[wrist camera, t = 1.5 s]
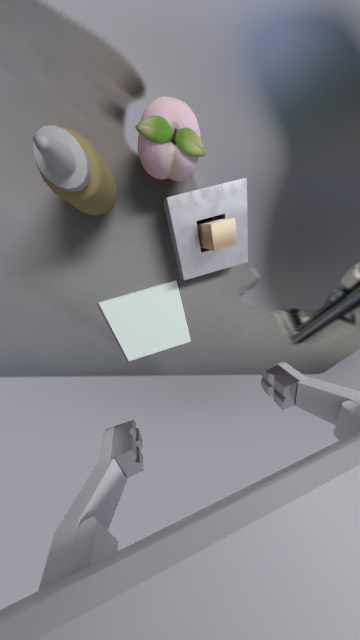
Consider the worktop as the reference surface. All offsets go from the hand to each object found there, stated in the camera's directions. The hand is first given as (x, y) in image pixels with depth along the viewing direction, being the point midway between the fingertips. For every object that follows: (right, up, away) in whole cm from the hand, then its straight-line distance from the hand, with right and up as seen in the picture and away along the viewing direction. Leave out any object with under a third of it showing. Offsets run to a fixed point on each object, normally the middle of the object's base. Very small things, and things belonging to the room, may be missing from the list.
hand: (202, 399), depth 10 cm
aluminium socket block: (+4, +23, +25) cm, 35 cm away
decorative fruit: (-4, +33, +19) cm, 38 cm away
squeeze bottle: (-16, +27, +19) cm, 36 cm away
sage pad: (-9, +4, +33) cm, 34 cm away
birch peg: (+4, +23, +25) cm, 35 cm away
